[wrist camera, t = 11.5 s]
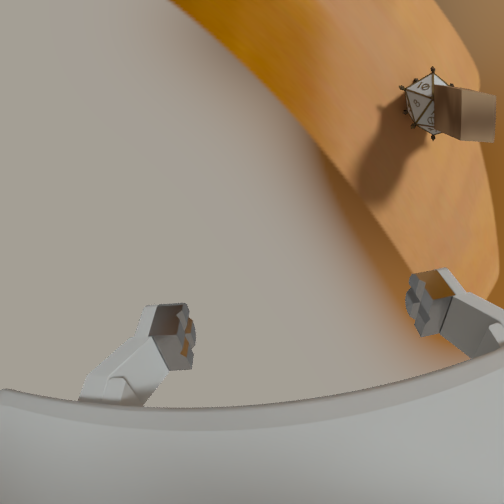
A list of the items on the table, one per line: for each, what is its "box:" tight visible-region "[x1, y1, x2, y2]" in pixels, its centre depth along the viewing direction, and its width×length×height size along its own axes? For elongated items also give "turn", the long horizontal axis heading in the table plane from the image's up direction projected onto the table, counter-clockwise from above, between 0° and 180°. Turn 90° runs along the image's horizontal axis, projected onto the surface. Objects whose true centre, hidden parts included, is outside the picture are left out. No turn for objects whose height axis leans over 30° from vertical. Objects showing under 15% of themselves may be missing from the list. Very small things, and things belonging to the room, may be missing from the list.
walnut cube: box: [434, 84, 496, 143], centre depth 24 cm, size 5×5×5 cm
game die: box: [399, 66, 454, 141], centre depth 29 cm, size 9×8×10 cm
